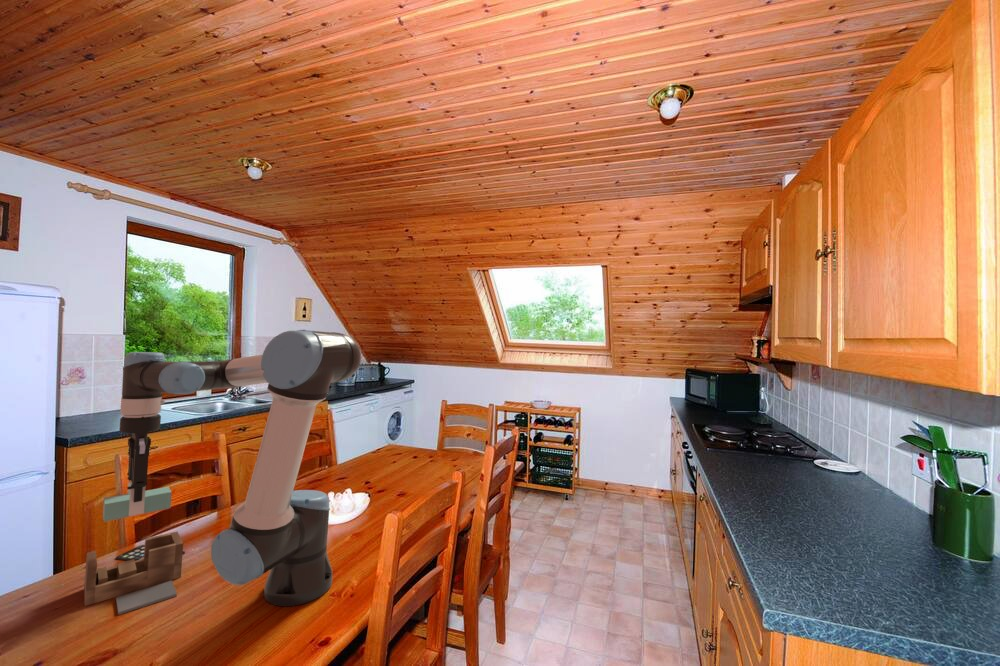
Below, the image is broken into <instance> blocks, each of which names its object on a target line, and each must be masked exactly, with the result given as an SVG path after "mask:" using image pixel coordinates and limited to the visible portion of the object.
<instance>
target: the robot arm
mask: <svg viewBox="0 0 1000 666" xmlns="http://www.w3.org/2000/svg"><path fill="white" fill-rule="evenodd" d="M165 358H166V357H165V354H164V353H163V352H157V351H156V352H155V351H153V352H152V351H149V352H148V351H131V352H128V353H127V354H126V355H125V356H124V363H123V366H122V385H121V386H122V387H121V399H120V412H119V413H120V415H122V417H120V419H119V432H120V433H122V434H127V435H128V434H129V435H131V434H132V436H129V438H128V439H127V446H128V452H127V453H128V466H127V467H128V469H127V473H126V474H127V480H128V481H127V487H126V488H127V493H126V494H130V499H129V515H128V516H130V517H133V516H139V515H144V514H145V513H144V504H145V491H146V487H147V486H148V473H149V471H148V470H149V456H150V448H151V445H152V438H151V437H150V436H148V433H150V432H156V431H158V430H160V428H161V422H162V421H161V419H162V416H161V414H160V413H161V412H162V405H163V404H165V403H166V402H165V400H164V399H163V393H164V394H173V395H175V396H176V395H177V396H179V395H190V394H194V393H195V392H201V391H211V390H222V389H225V390H226V389H236V388H239V387H245V386H246V387H247V386H252V385H259V384H260V385H261V384H267V391H268V392H269V394H270V395H271V396H272V400H271V401H272V402H271V403H270V404H271V405H270V409H269V412H268V415H267V416H268V417H267V420H266V423H265V427H264V431H263V435H262V437H261V441H260V442H261V443H260V445H259V450H258V452H257V453H258V454H257V457H256V461H255V464H254V467H253V472H252V475H251V479H250V482H249V487H248V490H247V493H246V498H245V501H244V502H243V503H241V504H239V505H237V507H236V508H235V510H234V511H233V512H234V513H233V515H232V517H231V518H232V519H231V522H230V526H229V527H228V528H227V529H226V528H225V529H223V530H222V531H220V533H218V534H216V536H215V537H214V538H213V540H212V542H211V547H210V556H211V562H212V565H213V567H215V570H216V572H217V574H218V575H219V576H220V577H221V578H222V579H223V580H224V581H225V582H227V583H229V584H231V585H235V586H242V585H246V584H248V583H249V582H251V581H253V580H255V579H259V578H260V577H262V575H265V574H266V573H267V572H269V573H268V575H267V578H266V581H265V583H264V590H263V591H264V593H263V597H264V599H265V600H266V602H268V603H269V604H270V605H273V606H280V607H292V606H300V605H304V604H306V603H307V604H308V603H310V602H312V601H314V600H316V599H318V598H320V597H322V596H323V595H324V594H326V593H327V592H328V591H329V590H330V588H331V586H332V583H333V569H332V568H333V567H332V565H331V563H330V558H329V556H328V552H327V548H328V536H329V535H328V534H329V533H328V532H329V520H330V517H329V516H330V511H331V508H330V497H329V496H328V494H327V493H325V492H323V491H321V490H314V489H299V490H294V488H295V485H296V481H297V479H298V475H299V471H300V468H301V464H302V459H303V457H304V454H305V453H304V452H305V448H306V445H307V443H308V442H307V441H308V437H309V434H310V430H311V427H312V424H313V421H314V420H313V419H314V416H315V412H316V409H317V405H318V404H319V403H321V402H323V401H324V400H326V398H327V396H328V393H329V389H330V387H331V386H330V385H331V384H333V383H339V382H343V381H345V380H348V379H349V378H350V377H352V376H353V375H354V374H355V373H356V372H357V370H358V369H359V367H360V364H361V361H362V360H361V359H362V353H361V349H360V347H359V345H358V344H357V342H356V341H355V340H354V339H353V338H352V337H351V336H349V335H346V334H344V333H340V332H332V331H331V332H329V331H319V330H318V331H317V330H306V329H298V330H286V331H283V332H281V333H279V334H277V335H276V336H274V337H273V338H272V339H271V340H270V341H269V342H268V344H267V345H266V346H265V348H264V350H263V352H262V354H258V355H257V354H256V355H251V356H244V357H238V358H231V359H224V360H209V361H207V360H201V361H199V360H198V361H166V359H165ZM143 513H144V514H143ZM138 514H139V515H138Z"/></svg>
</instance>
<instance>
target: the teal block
mask: <svg viewBox="0 0 1000 666" xmlns="http://www.w3.org/2000/svg"><path fill="white" fill-rule="evenodd" d="M129 499H130V494H127V493H124V494H119V495H115V496H114V495H113V496H108V497H104V498H103V507H102V518H103V522H104V523H106V522H109V521H115V520H119V519H125V518H128V517H129V518H130V517H131V516H128V515H129ZM171 506H172V490H171V488H170V487H169V486H164V487H159V488H153V489H148V490H145V504H144V513H143V514H142V515H144V514H147V513H154V512H157V511H162V510H163V511H164V510H168V509H171V508H172V507H171ZM139 515H140V514H138V515H137V516H139Z"/></svg>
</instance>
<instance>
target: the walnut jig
mask: <svg viewBox="0 0 1000 666" xmlns="http://www.w3.org/2000/svg"><path fill="white" fill-rule="evenodd" d="M144 545H145V550H144V559H141V560H137V561H134V559H133V560H129V561H122V562H119V563H118V562H117V565H115V566H111V567H108V568H107V566H103V567H98V562H97V561H98V559H97V558H98V557H97V550H91V551H88V552H87V553H86V558H85V559H86V560H85V570H84V571H85V573H84V584H83V586H84V587H83V596H84V597H83V598H84V607H87V606H91V605H94V604H96V603H97V604H98V603H99V602H104V601H106V600H110V599H113V598H116V597H119V596H122V595H126V594H129V593H132V592H135V591H139V590H142V589H145V588H149V587H152V586H155V585H159V584H162V583H165V582H169V581H174V580H176V579H179V578H181V577H182V565H183V555H184V554H183V550H184V541H183V540H182V537H181V536H180V534H179V532H178V531H173V532H169V533H164V534H161V535H156V536H152V537H148V538H145V540H144ZM182 554H183V555H182Z"/></svg>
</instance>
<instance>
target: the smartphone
mask: <svg viewBox="0 0 1000 666" xmlns="http://www.w3.org/2000/svg"><path fill="white" fill-rule="evenodd" d="M144 550H145V544H143V545H138V546H135V547H133V548H132V549H129V550H126V551H125V552H122V553H121V554H119V555H117V556H115V559H116V560H118V561H122V562H125V561H129V560H133V559H134V561H137V560H141V559H144ZM185 554H186V551H183V554H182V556H183V555H185Z"/></svg>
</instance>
